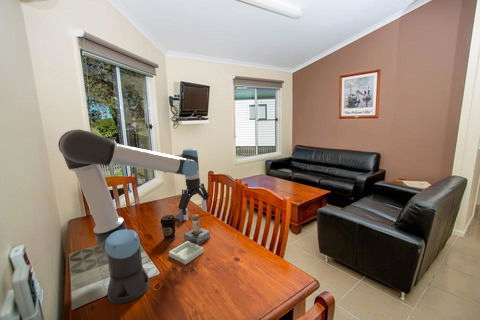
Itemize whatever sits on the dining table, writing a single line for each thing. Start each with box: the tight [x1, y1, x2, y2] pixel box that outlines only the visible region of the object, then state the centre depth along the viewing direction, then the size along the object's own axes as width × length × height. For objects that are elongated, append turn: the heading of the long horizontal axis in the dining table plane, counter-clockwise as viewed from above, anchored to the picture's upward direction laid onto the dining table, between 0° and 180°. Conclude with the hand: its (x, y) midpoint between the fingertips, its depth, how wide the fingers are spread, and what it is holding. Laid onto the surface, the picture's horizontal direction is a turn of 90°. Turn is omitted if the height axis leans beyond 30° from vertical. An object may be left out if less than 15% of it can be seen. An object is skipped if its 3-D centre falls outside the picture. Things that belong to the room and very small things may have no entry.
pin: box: [191, 213, 201, 236], centre depth 127 cm, size 4×4×14 cm
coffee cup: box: [159, 214, 177, 242], centre depth 129 cm, size 9×8×13 cm
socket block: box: [183, 227, 211, 246], centre depth 128 cm, size 10×10×4 cm
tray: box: [168, 241, 205, 266], centre depth 114 cm, size 12×12×2 cm
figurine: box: [174, 206, 192, 223], centre depth 155 cm, size 8×10×11 cm
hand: (195, 215), depth 126 cm, fingers open, 13 cm apart
